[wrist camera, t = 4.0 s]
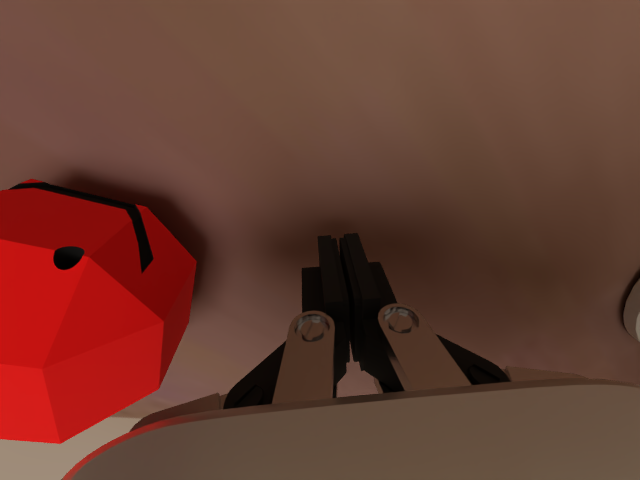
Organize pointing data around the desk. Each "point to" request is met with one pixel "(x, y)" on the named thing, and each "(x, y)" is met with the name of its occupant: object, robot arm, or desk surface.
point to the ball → (83, 308)
